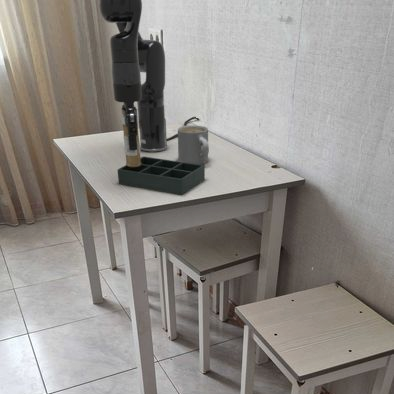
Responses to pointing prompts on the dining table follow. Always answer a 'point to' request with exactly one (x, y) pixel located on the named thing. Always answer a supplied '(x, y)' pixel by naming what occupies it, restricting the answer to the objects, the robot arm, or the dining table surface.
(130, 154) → the sprinkles bottle
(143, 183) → the rack
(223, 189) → the dining table surface
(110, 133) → the dining table surface
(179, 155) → the coffee mug
